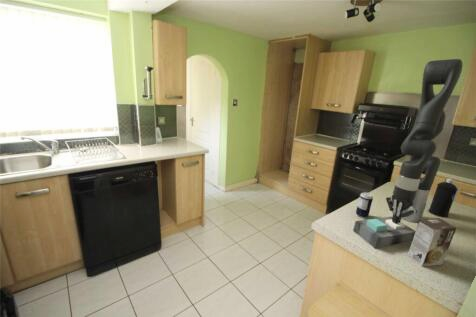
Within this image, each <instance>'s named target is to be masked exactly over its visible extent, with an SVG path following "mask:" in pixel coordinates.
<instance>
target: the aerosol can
mask: <svg viewBox="0 0 476 317" xmlns="http://www.w3.org/2000/svg"><path fill="white" fill-rule="evenodd" d="M453 181H454V180H453V179H452V178H447V180H446V181H444V182H443V181H442V182H439V183H437V184H436V188H435V192H434V194H433V198H432V200H431V203H430V206H429V209H428V210H427V211H428V213H430V214H431V215H433V216H436V217H438V218H439V217H440V218H448V217H449V214H450V210H451V208H452V205H453V203H454V200H455V198H456V195H457V191H458V190H459V188H458V187H457V186H456V185H455V184H454V183H453Z"/></svg>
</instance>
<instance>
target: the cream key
mask: <svg viewBox="0 0 476 317" xmlns="http://www.w3.org/2000/svg"><path fill="white" fill-rule="evenodd" d="M385 223H386V224H388V225H390V226H391V227H393V228H394V229H401V228H404V227H405V225H406V224H405V223H403V222H402V221H400V223H397V224H395V223H394V222H392V219H389V220H386V221H385ZM402 223H403V224H402ZM404 224H405V225H404Z"/></svg>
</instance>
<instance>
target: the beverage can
mask: <svg viewBox="0 0 476 317" xmlns="http://www.w3.org/2000/svg"><path fill="white" fill-rule="evenodd" d="M358 197H359V198H358V202H357V205H356V206H357V207H356V210H355V214H356V215H357V216H358V217H359V218H362V219H367V218H368V217H369V215H370V211H371V207H372V204H373V200H374V197H373V194H372V193H370V192H365V191H364V192H360V194H359V196H358Z"/></svg>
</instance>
